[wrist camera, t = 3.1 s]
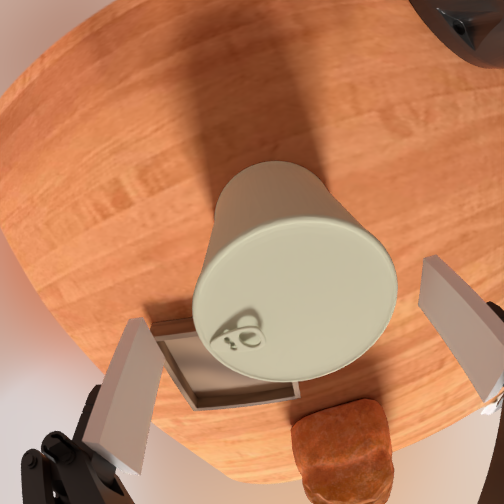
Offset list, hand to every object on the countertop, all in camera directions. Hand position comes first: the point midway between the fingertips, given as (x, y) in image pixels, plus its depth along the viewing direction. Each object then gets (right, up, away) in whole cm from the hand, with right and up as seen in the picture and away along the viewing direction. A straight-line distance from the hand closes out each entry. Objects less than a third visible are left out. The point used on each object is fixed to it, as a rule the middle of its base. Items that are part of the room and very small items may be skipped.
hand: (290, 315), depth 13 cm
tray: (-4, -8, +17) cm, 19 cm away
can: (0, +5, +10) cm, 11 cm away
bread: (+14, -28, +28) cm, 42 cm away
